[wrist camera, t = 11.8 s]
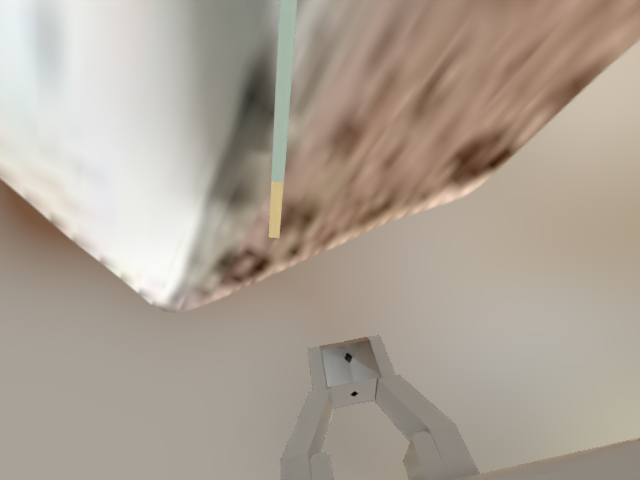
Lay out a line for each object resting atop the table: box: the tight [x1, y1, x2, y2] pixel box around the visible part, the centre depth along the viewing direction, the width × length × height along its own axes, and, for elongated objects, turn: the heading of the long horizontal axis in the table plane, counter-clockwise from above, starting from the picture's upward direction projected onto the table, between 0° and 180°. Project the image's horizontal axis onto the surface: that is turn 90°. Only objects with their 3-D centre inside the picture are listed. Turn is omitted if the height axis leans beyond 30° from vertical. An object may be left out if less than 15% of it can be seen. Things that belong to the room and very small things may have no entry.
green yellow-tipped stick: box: [269, 0, 297, 238], centre depth 17 cm, size 19×1×5 cm, turn 172°
